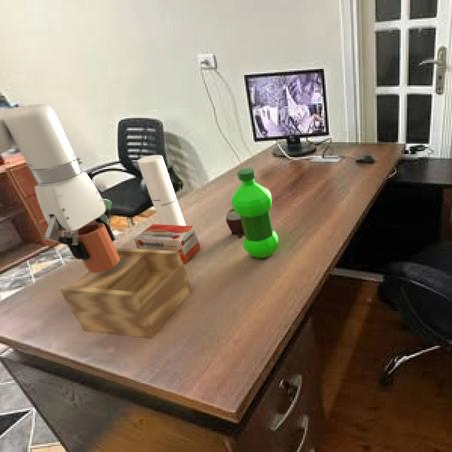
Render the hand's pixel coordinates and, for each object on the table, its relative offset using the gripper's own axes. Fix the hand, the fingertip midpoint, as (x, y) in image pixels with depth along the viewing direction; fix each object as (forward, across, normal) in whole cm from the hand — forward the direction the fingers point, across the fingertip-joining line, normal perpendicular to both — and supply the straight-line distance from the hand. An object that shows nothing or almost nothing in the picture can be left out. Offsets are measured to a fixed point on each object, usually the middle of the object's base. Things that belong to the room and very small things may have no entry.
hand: (96, 248), depth 77 cm
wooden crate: (+17, 0, +4) cm, 18 cm away
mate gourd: (+17, -37, +13) cm, 43 cm away
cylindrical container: (+17, -37, -12) cm, 42 cm away
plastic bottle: (+17, -26, +25) cm, 40 cm away
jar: (+4, 0, 0) cm, 4 cm away
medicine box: (+17, -23, -3) cm, 29 cm away
